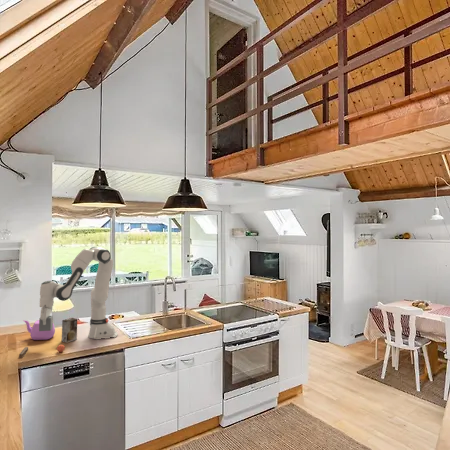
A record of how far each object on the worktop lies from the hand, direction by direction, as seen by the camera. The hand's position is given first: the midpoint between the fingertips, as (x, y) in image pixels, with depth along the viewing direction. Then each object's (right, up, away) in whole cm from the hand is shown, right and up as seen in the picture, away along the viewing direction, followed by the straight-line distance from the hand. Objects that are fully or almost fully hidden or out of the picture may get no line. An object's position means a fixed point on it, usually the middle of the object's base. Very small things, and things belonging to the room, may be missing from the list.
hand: (46, 322), depth 249 cm
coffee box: (+9, -18, +17) cm, 26 cm away
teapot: (-14, -18, +20) cm, 30 cm away
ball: (+14, -16, -8) cm, 23 cm away
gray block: (0, -5, 0) cm, 5 cm away
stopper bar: (-8, -17, -14) cm, 24 cm away
